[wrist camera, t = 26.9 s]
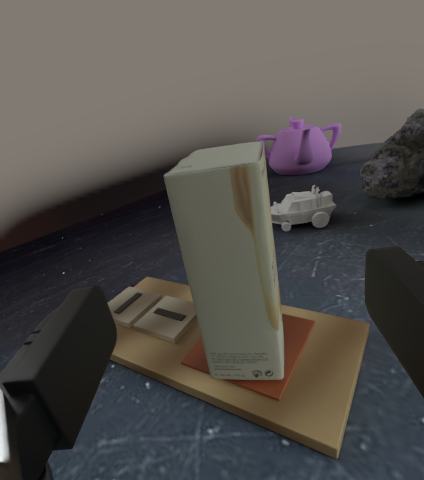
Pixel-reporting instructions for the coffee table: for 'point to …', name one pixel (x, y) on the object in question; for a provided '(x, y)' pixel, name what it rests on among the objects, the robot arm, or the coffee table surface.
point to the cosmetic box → (230, 258)
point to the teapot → (300, 148)
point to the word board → (247, 391)
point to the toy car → (303, 209)
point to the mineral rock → (397, 163)
